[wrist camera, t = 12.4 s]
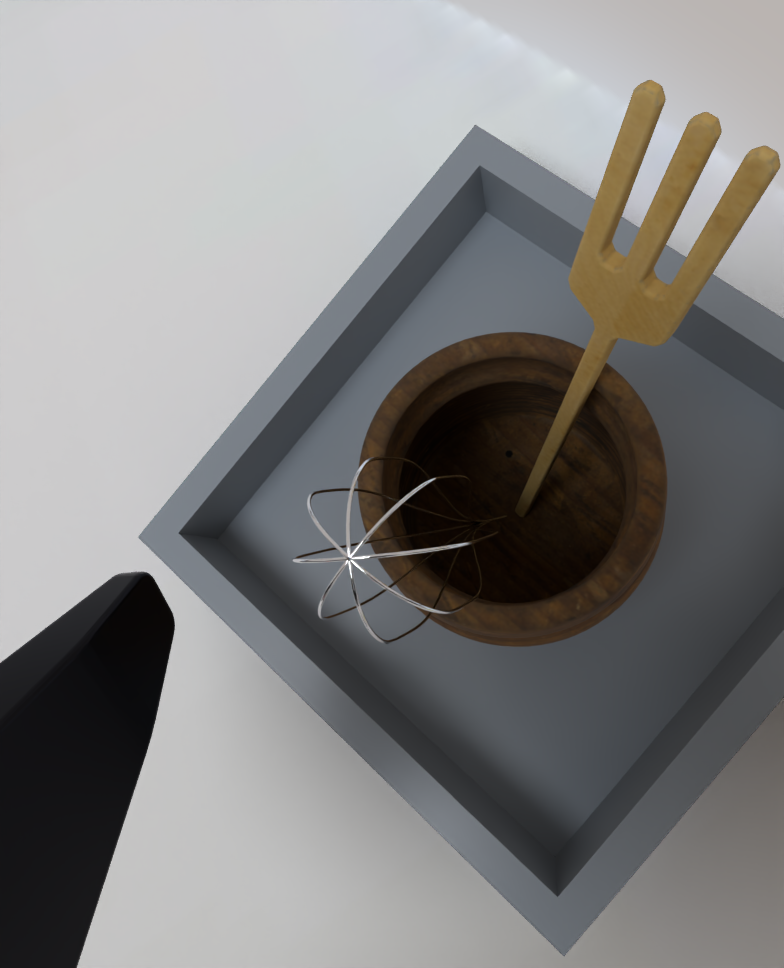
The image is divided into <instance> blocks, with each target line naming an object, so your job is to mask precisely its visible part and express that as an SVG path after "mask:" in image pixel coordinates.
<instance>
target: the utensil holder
mask: <svg viewBox="0 0 784 968" xmlns="http://www.w3.org/2000/svg"><path fill="white" fill-rule="evenodd" d="M664 103H665V95H664V91H663V88H662V86H661V85H659V84H658V83H656V82H654V81H652V80H648V81H646V82H644V83H641V84H640V85H638V86H637V87H636V88H635V90H634V92H633V95H632V97H631V100H630V103H629V106H628V109H627V111H626V114H625V117H624V120H623V123H622V126H621V129H620V131H619V134H618V137H617V140H616V143H615V146H614V148H613V151H612V154H611V157H610V160H609V163H608V166H607V168H606V171H605V174H604V177H603V180H602V183H601V185H600V188H599V191H598V194H597V197H596V200H595V203H594V205H593V208H592V211H591V214H590V217H589V220H588V222H587V225H586V228H585V231H584V234H583V237H582V240H581V242H580V245H579V248H578V251H577V254H576V257H575V260H574V263H573V266H572V269H571V272H570V275H569V278H568V280H569V285H570V289H571V290H572V292H573V293H574V295H575V296H576V297H577V299H578V300H579V301H580V303H581V304H582V305H583V307H584V308H585V310H586V311H587V312H588V314H589V315H590V316H591V318H592V319H593V322H594V327H595V329H594V332H593V334H592V336H591V339H590V341H589V343H588V345H587V348H586V350H585V349H584V348H582V347H579V346H577V345H575V344H573V343H570V342H567V341H564V340H562V339H558V338H555V337H551V336H547V335H541V334H536V333H527V332H499V333H491V334H485V335H480V336H475V337H472V338H468V339H465V340H462V341H459V342H456V343H454V344H451V345H449V346H447V347H445V348H443V349H441V350H439V351H437V352H435V353H433V354H432V355H430V356H429V357H427V358H426V359H424V360H422V361H421V362H420V363H419V364H417V365H416V366H415V367H413V368H412V369H411V370H410V371H409V372H408V373H406V374H405V375H404V376H403V377H402V378H401V379H400V380H399V381H398V382H397V383H396V385H395V386H394V387H393V388H392V389H391V391H390V392H389V393H388V395H387V396H386V397H385V399H384V400H383V402H382V403H381V405H380V406H379V408H378V410H377V411H376V413H375V415H374V417H373V419H372V421H371V424H370V426H369V428H368V431H367V433H366V437H365V440H364V443H363V446H362V451H361V455H360V461H359V468H358V471H357V473H356V475H355V477H354V479H353V482H352V485H351V488H334V489H323V490H317V491H314V492H312V493H311V494H310V495H309V497H308V499H307V507H308V511H309V513H310V516H311V518H312V519H313V521H314V523H315V524H316V526H317V527H318V529H319V530H320V531H321V533H322V534H323V535H324V536H325V537H326V538H327V540H328V541H329V542H330V543H331V544H332V545H333V546H334V547H332V548H327V549H323V550H318V551H314V552H310V553H305V554H301V555H297V556H294V557H293V558H292V561H293V562H296V563H323V562H339V561H345V562H344V563H343V565H342V566H341V567H340V569H339V570H338V572H337V573H336V575H335V576H334V578H333V579H332V580H331V582H330V584H329V585H328V587H327V589H326V590H325V592H324V594H323V596H322V598H321V601H320V603H319V607H318V616H319V618H321V619H322V620H329V619H332V618H335V617H338V616H340V615H342V614H345V613H347V612H350V611H352V610H354V609H358V612H359V614H360V617H361V619H362V621H363V623H364V625H365V627H366V628H367V630H368V631H369V633H370V634H371V635H372V636H373V637H374V638H375V639H376V640H378V641H379V642H381V643H384V644H391V643H394V642H397V641H398V640H400V639H402V638H404V637H406V636H408V635H409V634H411V633H413V632H414V631H416V630H417V629H418V628H420V627H421V626H422V625H423V624H424V623H425V622H426V621H427V620H428V619H429V618H430V619H431V620H432V621H434V622H435V623H437V624H439V625H440V626H442V627H444V628H445V629H447V630H449V631H451V632H453V633H455V634H458V635H460V636H463V637H465V638H468V639H471V640H474V641H478V642H481V643H486V644H491V645H497V646H507V647H529V646H538V645H544V644H549V643H554V642H557V641H561V640H564V639H567V638H570V637H573V636H575V635H578V634H580V633H582V632H584V631H586V630H588V629H590V628H591V627H593V626H595V625H597V624H598V623H600V622H601V621H603V620H604V619H606V618H607V617H608V616H610V615H611V614H612V613H613V612H614V611H616V610H617V609H618V608H619V607H620V606H621V605H622V604H623V603H624V602H625V601H626V600H627V599H628V598H629V597H630V596H631V594H632V593H633V592H634V591H635V590H636V588H637V587H638V585H639V584H640V583H641V581H642V580H643V578H644V576H645V575H646V573H647V571H648V570H649V568H650V566H651V564H652V562H653V559H654V557H655V555H656V552H657V549H658V547H659V543H660V540H661V536H662V532H663V527H664V521H665V512H666V502H667V483H668V482H667V468H666V461H665V455H664V450H663V446H662V442H661V439H660V436H659V433H658V430H657V427H656V425H655V423H654V421H653V418H652V416H651V414H650V412H649V411H648V409H647V407H646V405H645V404H644V402H643V401H642V399H641V398H640V396H639V395H638V394H637V392H636V391H635V390H634V388H633V387H632V386H631V385H630V384H629V383H628V382H627V380H626V379H625V378H624V377H623V376H622V375H621V374H619V373H618V372H617V371H616V370H615V369H614V368H613V367H611V366H610V365H609V364H608V363H606V361H607V359H608V357H609V355H610V354H611V352H612V350H613V348H614V346H615V344H616V342H617V340H618V338H621V339H625V340H629V341H633V342H637V343H642V344H646V345H650V346H654V347H655V346H659V345H662V344H664V343H666V341H667V340H668V339H669V338H670V337H671V336H672V335H673V334H674V332H675V331H676V329H677V328H678V326H679V325H680V323H681V322H682V320H683V319H684V317H685V315H686V314H687V312H688V311H689V309H690V308H691V306H692V304H693V303H694V301H695V300H696V298H697V297H698V295H699V294H700V292H701V290H702V289H703V287H704V286H705V284H706V283H707V281H708V279H709V278H710V276H711V275H712V273H713V272H714V270H715V268H716V267H717V265H718V264H719V262H720V261H721V259H722V258H723V256H724V254H725V253H726V251H727V250H728V248H729V247H730V245H731V243H732V242H733V240H734V239H735V237H736V236H737V234H738V232H739V231H740V229H741V228H742V226H743V225H744V223H745V221H746V220H747V218H748V217H749V215H750V214H751V212H752V211H753V209H754V207H755V206H756V204H757V203H758V201H759V200H760V198H761V196H762V195H763V193H764V192H765V190H766V189H767V187H768V185H769V184H770V182H771V181H772V179H773V178H774V176H775V175H776V173H777V171H778V170H779V168H780V160H779V155H778V153H777V152H776V151H774V150H773V149H771V148H769V147H768V146H761V147H758V148H755V149H752V150H751V151H749V153H748V154H747V155H746V156H745V158H744V160H743V161H742V163H741V165H740V167H739V168H738V170H737V172H736V173H735V175H734V177H733V179H732V180H731V182H730V184H729V186H728V187H727V189H726V191H725V192H724V194H723V196H722V198H721V199H720V201H719V203H718V204H717V206H716V208H715V210H714V211H713V213H712V215H711V217H710V218H709V220H708V222H707V223H706V225H705V227H704V229H703V230H702V232H701V234H700V236H699V237H698V239H697V241H696V242H695V244H694V246H693V248H692V249H691V251H690V253H689V254H688V256H687V258H686V260H685V261H684V263H683V265H682V267H681V268H680V270H679V272H678V273H677V275H676V277H675V279H674V280H673V282H672V284H666V283H664V282H663V281H661V280H660V279H658V278H657V276H656V274H655V271H654V267H655V265H656V263H657V261H658V259H659V257H660V255H661V253H662V251H663V249H664V247H665V245H666V243H667V241H668V239H669V237H670V235H671V233H672V231H673V229H674V227H675V225H676V223H677V221H678V219H679V217H680V215H681V213H682V211H683V209H684V207H685V205H686V203H687V201H688V199H689V197H690V195H691V193H692V191H693V189H694V187H695V185H696V183H697V181H698V179H699V177H700V175H701V173H702V171H703V169H704V167H705V165H706V163H707V161H708V159H709V157H710V155H711V153H712V151H713V149H714V147H715V145H716V143H717V141H718V139H719V137H720V135H721V126H720V122H719V119H718V118H717V117H715V116H713V115H712V114H710V113H708V112H704V113H701V114H698V115H696V116H694V117H693V118H692V119H691V120H690V121H689V122H688V124H687V127H686V129H685V131H684V133H683V135H682V138H681V140H680V142H679V144H678V146H677V149H676V151H675V153H674V155H673V157H672V160H671V162H670V164H669V166H668V168H667V170H666V173H665V175H664V177H663V179H662V181H661V184H660V186H659V188H658V190H657V192H656V195H655V197H654V199H653V201H652V203H651V205H650V208H649V210H648V212H647V214H646V216H645V219H644V221H643V223H642V225H641V227H640V230H639V232H638V234H637V236H636V238H635V240H634V243H633V245H632V247H631V249H630V251H629V254H628V256H627V257H625V256H623V255H622V254H620V253H619V252H617V251H616V250H615V248H614V245H613V242H612V240H613V237H614V235H615V232H616V229H617V227H618V224H619V221H620V219H621V216H622V213H623V211H624V208H625V206H626V203H627V200H628V198H629V195H630V192H631V190H632V187H633V184H634V182H635V179H636V177H637V174H638V171H639V169H640V166H641V163H642V161H643V158H644V156H645V153H646V150H647V148H648V145H649V142H650V140H651V137H652V134H653V132H654V129H655V127H656V124H657V121H658V119H659V116H660V113H661V111H662V108H663V106H664ZM357 480H358V489H357V488H355V486H356V482H357ZM338 491H350V493H349V498H348V504H347V514H346V545H342V546H339V545H338V544H337V543H336V542H335V541H334V540H333V539H332V538H331V537H330V536H329V535H328V533H327V532H326V531H325V530H324V529H323V527H322V526H321V525H320V523H319V522H318V520H317V518H316V517H315V515H314V513H313V510H312V507H311V499H312V497H313V496H314V495H316V494H320V493H327V492H338ZM354 491H356V492H358V500H359V507H360V513H361V517H362V521H363V525H364V528H365V531H366V534H367V535H366V536H365V537H364V538H363V539H362V540H361V542H358V543H352V544H351V543H350V515H351V504H352V498H353V493H354ZM368 539H369V541H367V540H368ZM364 544H371V546H372V549H373V551H374V553H375V554H373V555H362V556H355V555H356V553H357V552H358V551H359V549H360V548H361V547H362V546H363V545H364ZM352 546H357V547H356V548H355V549H354V550H353V552H352V553H351V547H352ZM342 548H347V553H346V552H345V551H344V550H343V549H342ZM333 550H338V551H339V552H340V553H341V554H342V555H343V556H344V557H337V558H322V559H300V558H303V557H307V556H311V555H316V554H320V553H324V552H328V551H333ZM349 557H350V558H351V560H349ZM375 558H378V560H379V562H380V564H381V565H382V567H383V568H384V570H385V571H386V573H387V574H388V575H389V577H390V578H391V579H392V581H393V583H392V584H391V585H389V586H387V585H385V584H384V583H383V582H381V581H380V580H378V579H377V578H376V577H374V576H373V575H372V574H370V573H369V572H368V571H367V570H365V569H364V568H363V567H362V566H361V565H360V564H358V563H357V562H356V561H355V560H364V559H375ZM352 564H353V565H354V566H355V567H357V568H358V569H359V570H360V571H361V572H362V573H364V574H365V575H366V576H368V577H369V578H370V579H371V580H373V581H374V582H375V583H377V584H378V585H380V586H381V587H382V588H384V589H383V590H382V591H381V592H379V593H378V594H376V595H374V596H373V597H371V598H369V599H367V600H366V601H364V602H362V603H360V602H359V598H358V594H357V590H356V585H355V579H354V573H353V565H352ZM347 565H348V566H349V574H350V580H351V586H352V591H353V595H354V599H355V603H356V605H355V606H353V607H351V608H348V609H346V610H343V611H341V612H338V613H336V614H333V615H330V616H323V615H322V607H323V604H324V601H325V599H326V597H327V595H328V593H329V591H330V590H331V588H332V587H333V585H334V583H335V582H336V580H337V579H338V577H339V576H340V575H341V573H342V572H343V570H344V569H345V568H346V566H347ZM395 584H396V586H397V587H398V589H399V590H400V591H401V592H402V594H403V595H404V596H403V595H401V594H400V593H398V592H396V591H395V590H393V589H391V587H393V586H394V585H395ZM386 591H388V592H390V593H391V594H393V595H395V596H396V597H398V598H400V599H402V600H404V601H405V602H407V603H409V604H411V605H414V606H415V607H416V608H417V609H418V610H419V611H421V612H422V613H423V614H424V615H425V616H426V617H425V619H424V620H423V621H422V622H421V623H420V624H418V625H417V626H416V627H414V628H413V629H411V630H409V631H408V632H406V633H404V634H402V635H400V636H398V637H396V638H394V639H391V640H384V639H382V638H380V637H379V636H378V635H377V634H376V633H375V632H374V631H373V630H372V629H371V627H370V626H369V624H368V622H367V620H366V618H365V616H364V613H363V611H362V608H361V606H363V605H365V604H367V603H368V602H370V601H372V600H374V599H375V598H377V597H378V596H380V595H381V594H383V593H384V592H386Z"/></svg>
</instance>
